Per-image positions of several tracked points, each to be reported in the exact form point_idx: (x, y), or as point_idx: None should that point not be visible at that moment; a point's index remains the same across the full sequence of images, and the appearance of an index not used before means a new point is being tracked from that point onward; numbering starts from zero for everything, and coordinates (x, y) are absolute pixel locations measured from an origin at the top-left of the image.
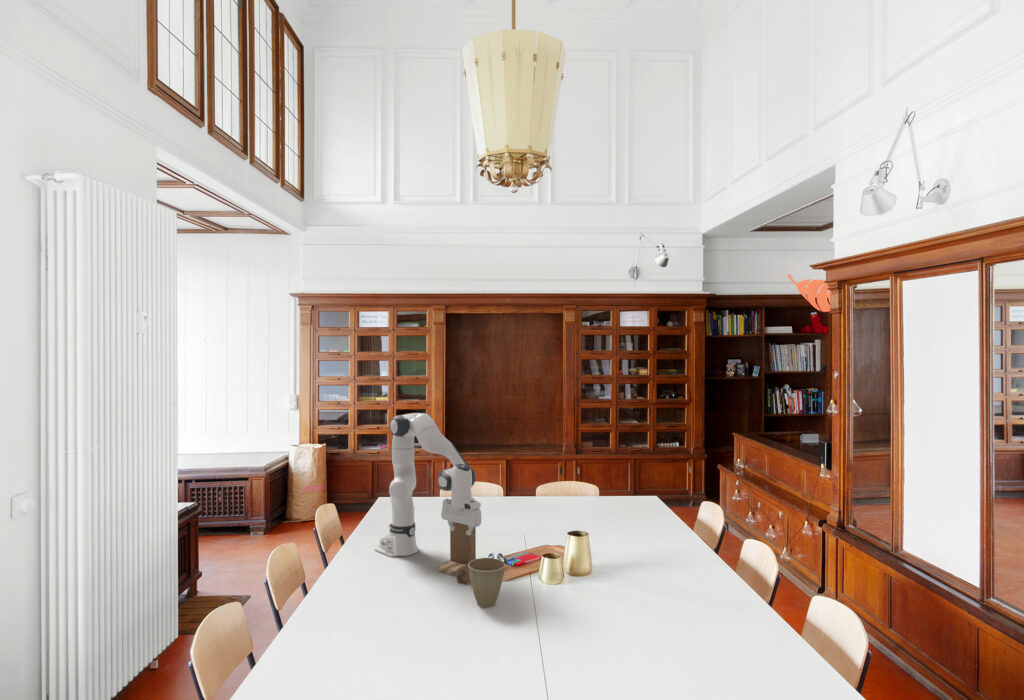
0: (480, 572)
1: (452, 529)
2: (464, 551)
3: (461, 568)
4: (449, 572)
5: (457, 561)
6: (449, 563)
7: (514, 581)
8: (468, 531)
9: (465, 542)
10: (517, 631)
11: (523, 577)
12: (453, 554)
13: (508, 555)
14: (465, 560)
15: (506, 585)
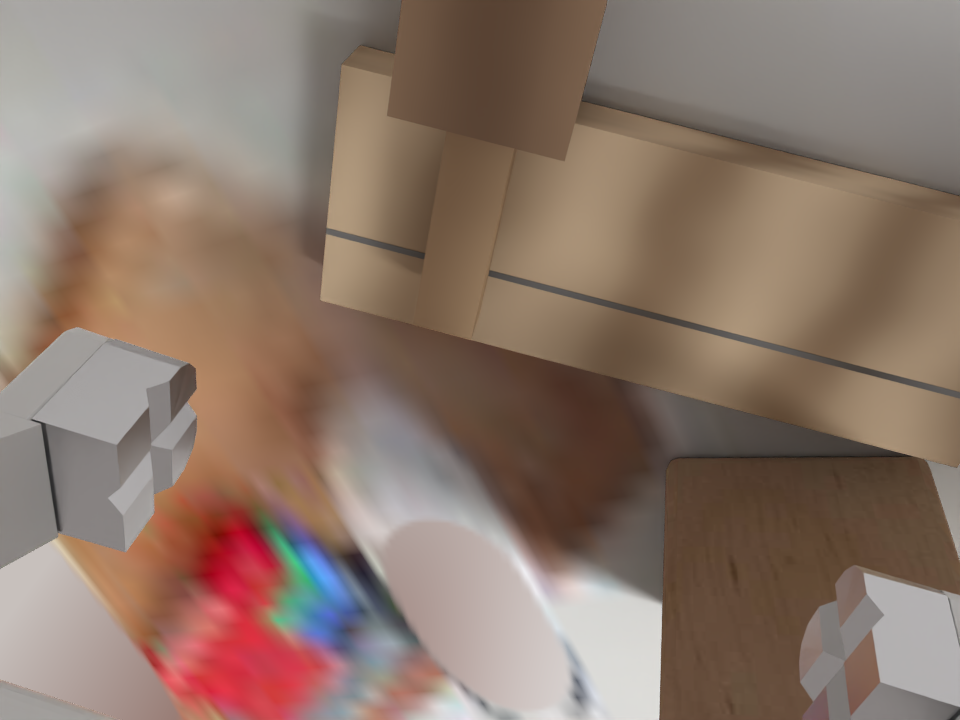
0: None
1: (860, 623)
2: (745, 577)
3: (548, 6)
4: (849, 177)
5: (832, 478)
6: (918, 390)
7: (11, 177)
8: (9, 414)
9: (734, 682)
10: None
11: (7, 296)
12: (904, 541)
13: (413, 687)
14: (726, 492)
15: (6, 40)
